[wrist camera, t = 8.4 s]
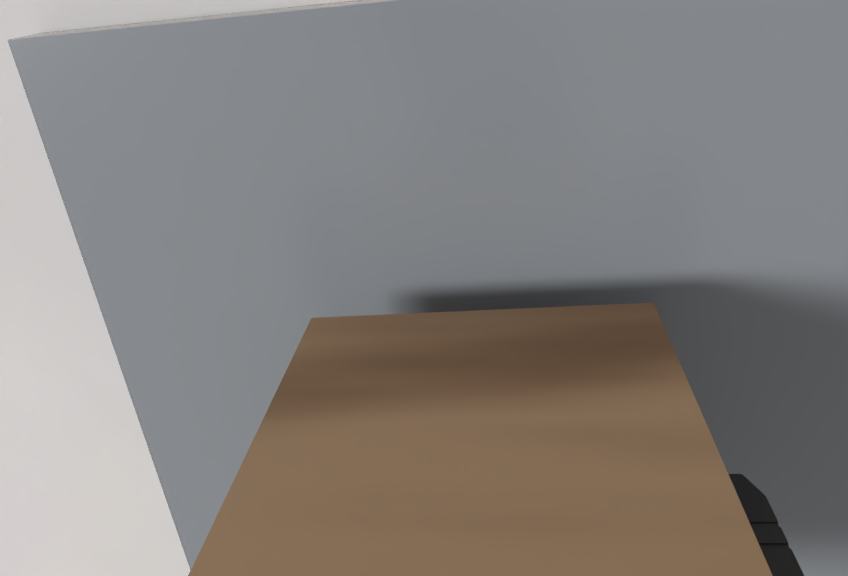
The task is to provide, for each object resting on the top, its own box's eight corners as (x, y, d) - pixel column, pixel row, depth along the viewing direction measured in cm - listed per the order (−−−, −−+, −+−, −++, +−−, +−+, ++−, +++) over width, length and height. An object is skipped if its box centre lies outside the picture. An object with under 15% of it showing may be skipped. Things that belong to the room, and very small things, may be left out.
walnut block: (311, 317, 13) (177, 597, 7) (653, 303, 12) (783, 602, 7) (358, 557, 15) (284, 891, 10) (639, 556, 15) (725, 917, 9)
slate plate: (40, 32, 13) (7, 40, 12) (958, -62, 11) (998, -62, 10) (228, 613, 20) (216, 644, 19) (812, 619, 18) (829, 654, 17)
